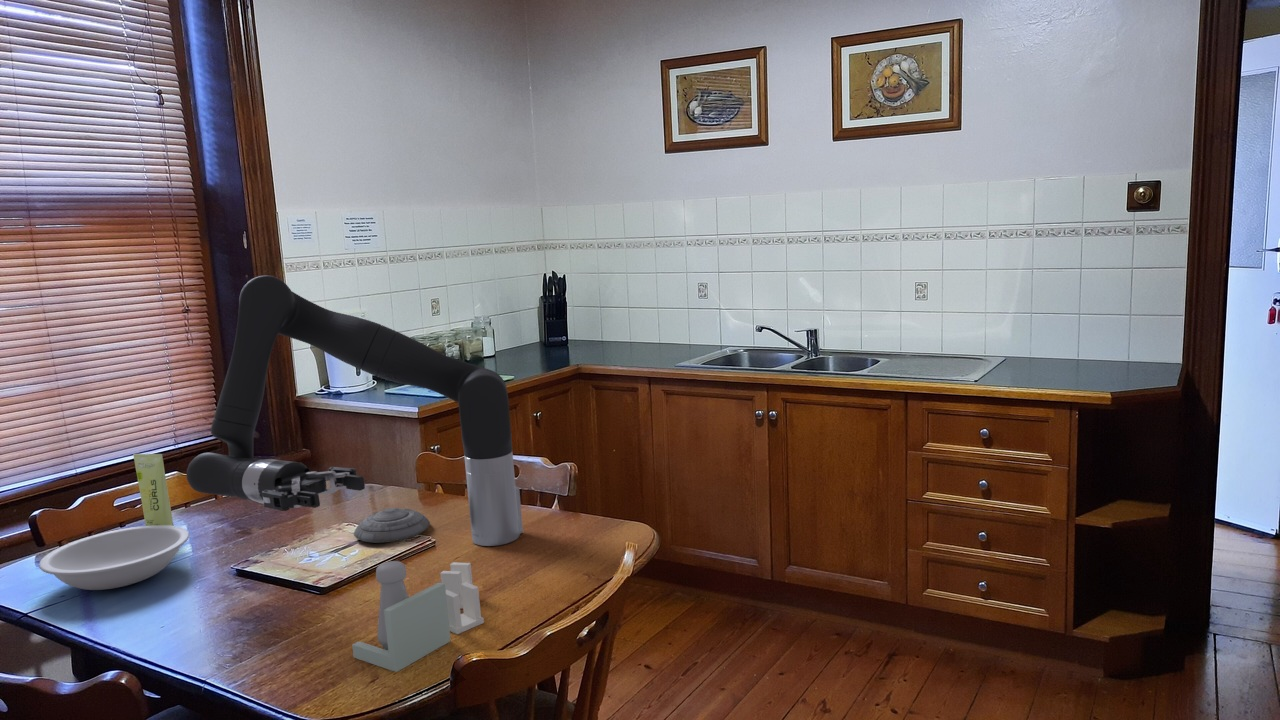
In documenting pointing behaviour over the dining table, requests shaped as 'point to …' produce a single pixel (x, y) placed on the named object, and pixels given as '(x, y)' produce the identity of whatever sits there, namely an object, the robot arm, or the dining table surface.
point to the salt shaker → (389, 592)
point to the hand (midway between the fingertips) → (340, 491)
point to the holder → (410, 630)
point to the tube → (153, 489)
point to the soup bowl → (115, 557)
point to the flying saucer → (391, 525)
